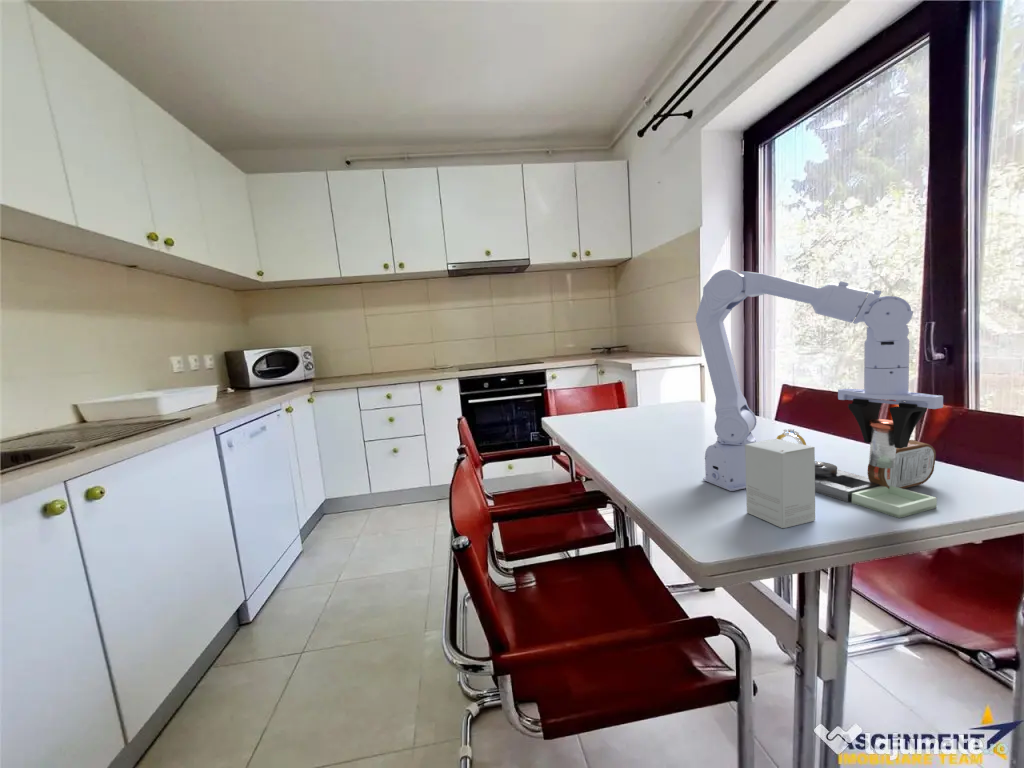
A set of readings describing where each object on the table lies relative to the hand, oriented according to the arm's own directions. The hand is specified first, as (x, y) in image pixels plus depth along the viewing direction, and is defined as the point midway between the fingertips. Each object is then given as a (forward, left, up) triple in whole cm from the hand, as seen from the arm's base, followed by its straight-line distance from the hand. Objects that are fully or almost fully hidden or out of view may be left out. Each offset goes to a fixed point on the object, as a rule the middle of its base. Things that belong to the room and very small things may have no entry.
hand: (885, 444), depth 73 cm
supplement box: (-20, +3, -11) cm, 23 cm away
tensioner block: (0, +9, -11) cm, 14 cm away
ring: (+7, +23, -11) cm, 27 cm away
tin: (+9, +3, -10) cm, 14 cm away
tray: (0, -1, -11) cm, 11 cm away
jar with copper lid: (0, +1, -4) cm, 4 cm away
